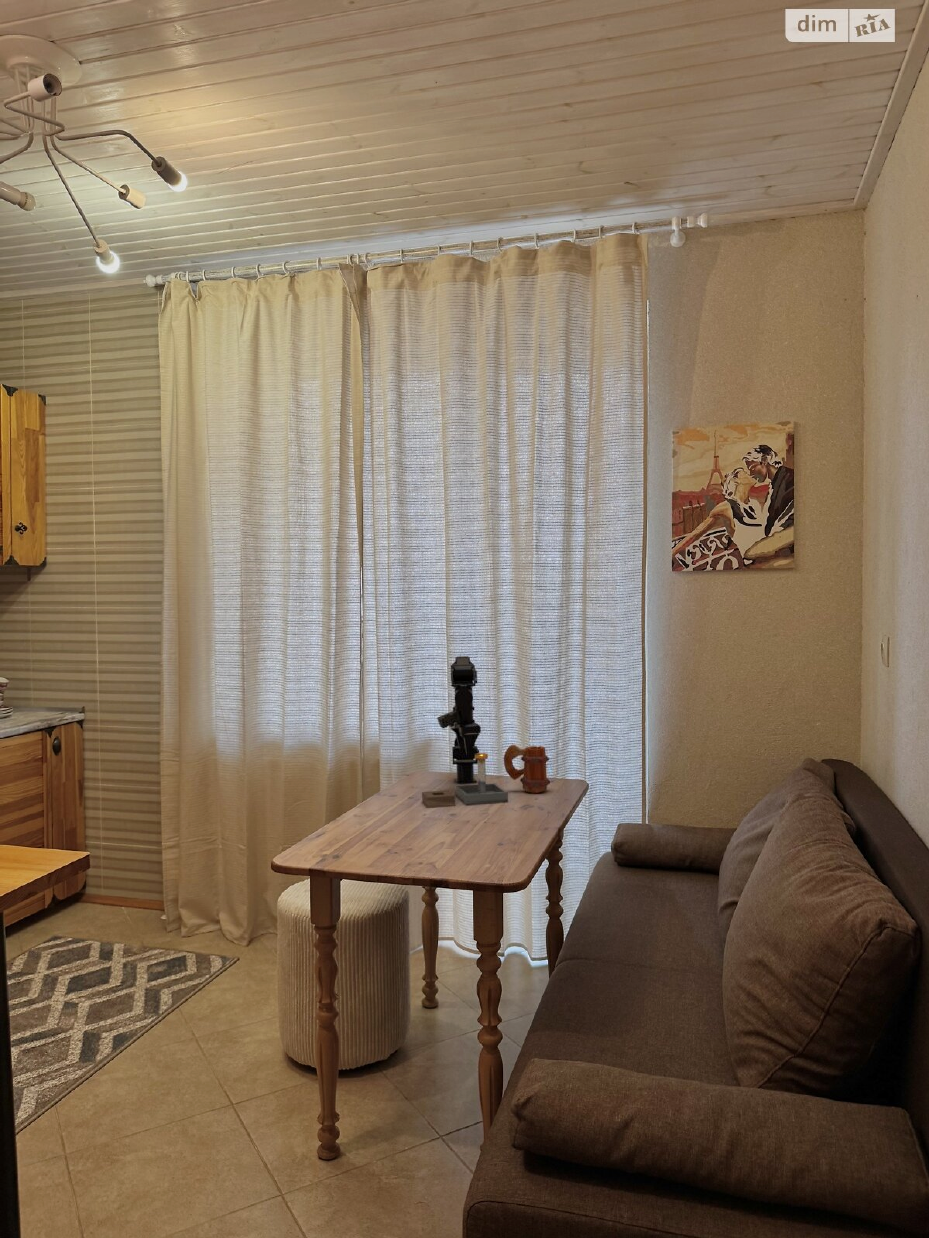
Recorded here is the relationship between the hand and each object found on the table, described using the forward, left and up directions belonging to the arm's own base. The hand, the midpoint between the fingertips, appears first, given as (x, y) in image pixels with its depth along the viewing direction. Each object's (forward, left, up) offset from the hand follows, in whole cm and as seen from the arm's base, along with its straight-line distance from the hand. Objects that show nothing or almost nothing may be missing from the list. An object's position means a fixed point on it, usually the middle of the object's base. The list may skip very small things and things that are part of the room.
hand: (465, 752), depth 291 cm
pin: (+11, +2, -12) cm, 17 cm away
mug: (+5, +19, -13) cm, 24 cm away
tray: (+10, +2, -13) cm, 17 cm away
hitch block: (+12, -12, -13) cm, 21 cm away
